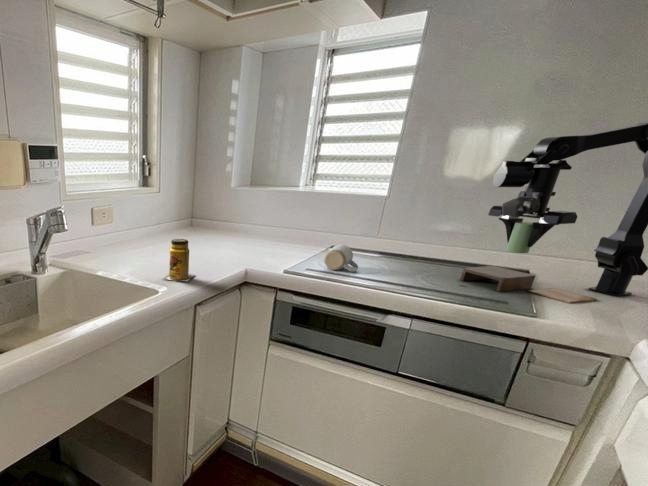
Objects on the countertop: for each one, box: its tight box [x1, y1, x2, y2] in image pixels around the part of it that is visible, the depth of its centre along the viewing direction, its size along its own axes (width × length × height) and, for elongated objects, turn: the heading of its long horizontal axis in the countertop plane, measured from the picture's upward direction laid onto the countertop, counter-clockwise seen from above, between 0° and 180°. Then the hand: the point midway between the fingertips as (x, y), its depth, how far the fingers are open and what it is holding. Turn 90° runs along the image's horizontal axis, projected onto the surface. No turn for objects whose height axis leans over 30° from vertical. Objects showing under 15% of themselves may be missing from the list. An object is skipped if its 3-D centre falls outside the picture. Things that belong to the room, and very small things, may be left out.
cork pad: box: [527, 287, 598, 304], centre depth 111 cm, size 10×10×1 cm
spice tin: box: [505, 221, 534, 254], centre depth 114 cm, size 5×5×8 cm
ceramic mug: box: [323, 244, 360, 273], centre depth 136 cm, size 11×8×8 cm
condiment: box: [165, 238, 195, 282], centre depth 125 cm, size 7×8×12 cm
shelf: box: [459, 265, 536, 293], centre depth 120 cm, size 12×12×4 cm
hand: (519, 245), depth 115 cm, fingers closed on spice tin, 5 cm apart
